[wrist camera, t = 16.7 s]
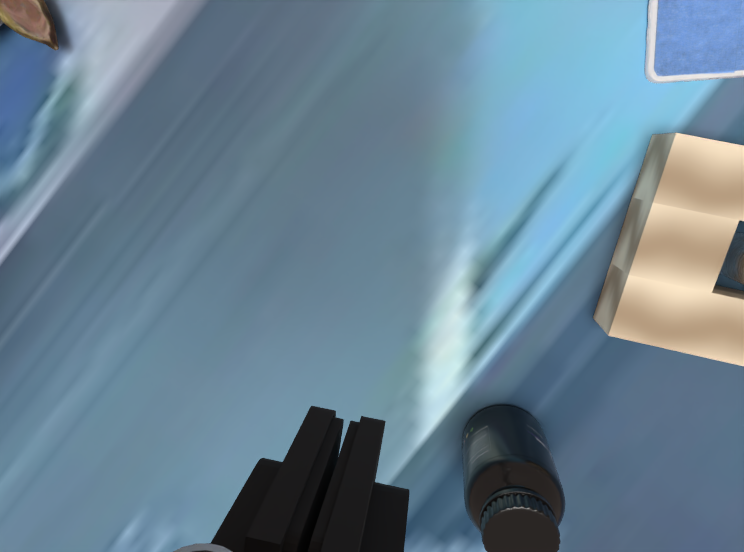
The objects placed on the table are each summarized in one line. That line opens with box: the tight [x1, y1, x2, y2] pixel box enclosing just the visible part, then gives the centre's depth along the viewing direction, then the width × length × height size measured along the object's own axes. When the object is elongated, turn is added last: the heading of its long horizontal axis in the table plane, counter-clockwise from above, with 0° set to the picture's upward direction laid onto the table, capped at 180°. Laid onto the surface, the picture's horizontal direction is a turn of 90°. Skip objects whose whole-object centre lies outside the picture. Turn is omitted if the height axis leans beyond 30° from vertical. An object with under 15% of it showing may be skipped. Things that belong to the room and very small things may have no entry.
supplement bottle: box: [463, 406, 565, 552], centre depth 38 cm, size 7×7×12 cm
